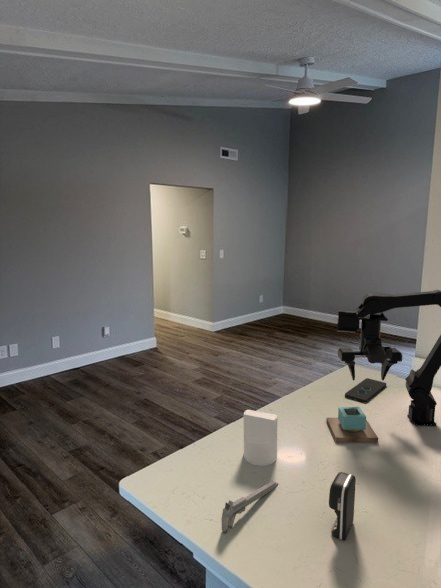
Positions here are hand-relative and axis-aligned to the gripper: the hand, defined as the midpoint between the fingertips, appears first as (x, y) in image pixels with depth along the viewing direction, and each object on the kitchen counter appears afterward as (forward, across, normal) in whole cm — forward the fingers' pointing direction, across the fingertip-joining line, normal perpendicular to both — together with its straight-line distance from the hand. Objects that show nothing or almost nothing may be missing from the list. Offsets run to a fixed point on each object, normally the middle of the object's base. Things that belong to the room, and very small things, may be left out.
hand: (367, 380), depth 129 cm
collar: (+10, -8, -11) cm, 17 cm away
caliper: (+12, -39, -44) cm, 60 cm away
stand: (+12, -8, -11) cm, 18 cm away
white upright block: (+12, -36, -24) cm, 45 cm away
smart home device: (+13, +6, +19) cm, 23 cm away
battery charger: (+12, -21, -50) cm, 56 cm away
